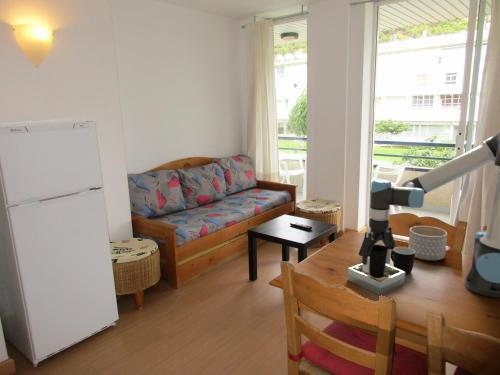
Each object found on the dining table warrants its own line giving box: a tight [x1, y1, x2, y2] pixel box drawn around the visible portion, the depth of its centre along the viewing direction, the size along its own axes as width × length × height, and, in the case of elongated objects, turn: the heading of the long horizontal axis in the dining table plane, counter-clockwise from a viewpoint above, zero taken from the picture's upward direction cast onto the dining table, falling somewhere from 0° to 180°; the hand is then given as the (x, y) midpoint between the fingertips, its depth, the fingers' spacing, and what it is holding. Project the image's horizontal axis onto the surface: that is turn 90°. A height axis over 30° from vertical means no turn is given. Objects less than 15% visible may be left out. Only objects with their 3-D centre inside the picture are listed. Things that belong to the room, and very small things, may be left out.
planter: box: [407, 225, 448, 262], centre depth 179 cm, size 16×16×13 cm
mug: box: [390, 246, 416, 276], centre depth 163 cm, size 12×9×10 cm
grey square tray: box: [347, 262, 406, 296], centre depth 153 cm, size 16×16×6 cm
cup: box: [368, 245, 388, 278], centre depth 152 cm, size 8×8×12 cm
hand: (376, 267), depth 153 cm, fingers open, 13 cm apart
